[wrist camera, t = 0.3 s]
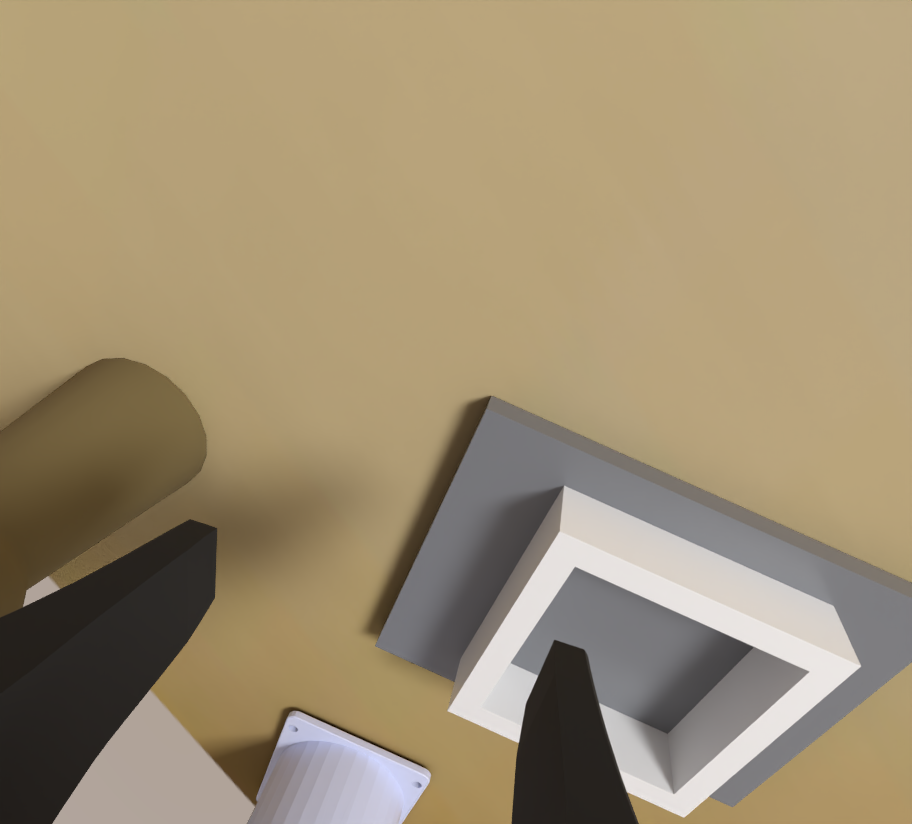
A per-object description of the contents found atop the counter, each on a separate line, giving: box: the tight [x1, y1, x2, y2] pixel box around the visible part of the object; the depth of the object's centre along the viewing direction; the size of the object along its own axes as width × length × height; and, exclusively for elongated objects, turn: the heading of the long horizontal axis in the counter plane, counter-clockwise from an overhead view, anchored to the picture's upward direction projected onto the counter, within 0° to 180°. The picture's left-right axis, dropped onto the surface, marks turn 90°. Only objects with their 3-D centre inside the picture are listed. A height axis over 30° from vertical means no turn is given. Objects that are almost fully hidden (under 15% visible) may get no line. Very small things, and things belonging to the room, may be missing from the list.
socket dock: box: [375, 396, 912, 817], centre depth 22 cm, size 13×17×4 cm
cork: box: [0, 358, 206, 617], centre depth 20 cm, size 6×6×11 cm
